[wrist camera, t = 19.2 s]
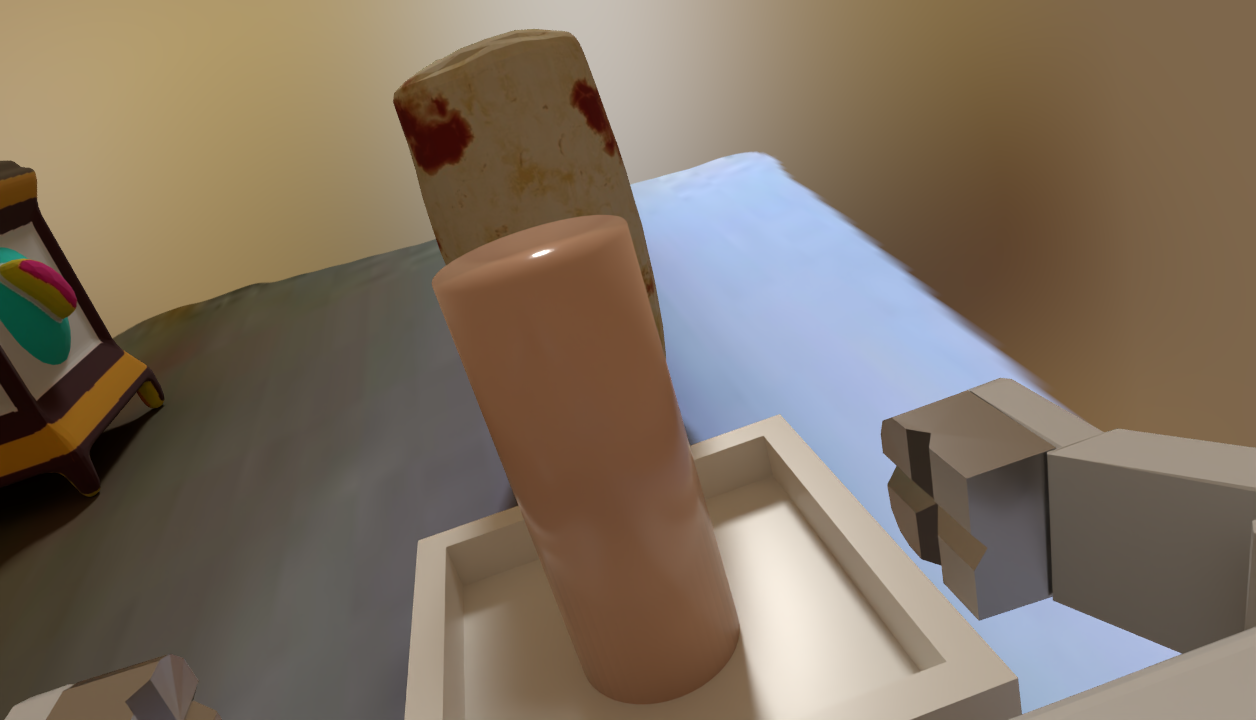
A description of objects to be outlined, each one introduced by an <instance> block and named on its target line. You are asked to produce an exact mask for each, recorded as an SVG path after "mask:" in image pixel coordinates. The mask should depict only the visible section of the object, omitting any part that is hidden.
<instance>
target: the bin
mask: <svg viewBox="0 0 1256 720" xmlns="http://www.w3.org/2000/svg"><path fill="white" fill-rule="evenodd" d="M690 448H691V451H692V455H693V458H694V462H695V466H696V469H697V473H698V476H699V480H700V483H701V487H702V490H703V494H704V497H705V501H706V505H707V508H708V512H709V515H710V519H711V522H712V526H713V529H714V533H715V537H716V540H717V544H718V547H719V551H720V554H721V558H722V561H723V565H724V569H725V572H726V576H727V579H728V583H729V586H730V590H731V593H732V597H733V600H734V604H735V608H736V611H737V615H738V619H739V624H740V633H739V639H738V643H737V646H736V649H735V651H734V653H733V655H732V656H731V658H730V660H729V661H728V662H727V664H726V665H725V666H724V667H723V669H722V670H721V671H720V672H719V673H718V674H717V675H716V676H715V677H713V678H712V679H711V680H710V681H709V682H707V683H706V684H704V685H703V686H701V687H700V688H698V689H696V690H695V691H693V692H691V693H689V694H686V695H684V696H682V697H679V698H676V699H673V700H670V701H666V702H661V703H655V704H629V703H623V702H619V701H616V700H613V699H611V698H608V697H606V696H604V695H603V694H601V693H600V692H598V691H597V690H596V689H595V688H594V687H593V686H592V685H591V684H590V682H589V681H588V680H587V678H586V676H585V674H584V672H583V669H582V666H581V664H580V661H579V659H578V656H577V654H576V651H575V649H574V646H573V643H572V641H571V638H570V636H569V633H568V631H567V628H566V626H565V623H564V621H563V618H562V615H561V613H560V610H559V608H558V605H557V603H556V600H555V598H554V595H553V593H552V590H551V587H550V585H549V582H548V580H547V577H546V575H545V572H544V570H543V567H542V564H541V562H540V559H539V557H538V554H537V552H536V549H535V547H534V544H533V542H532V539H531V536H530V534H529V531H528V529H527V526H526V524H525V521H524V519H523V516H522V513H521V511H520V508H519V506H516V507H513V508H511V509H508V510H505V511H502V512H499V513H496V514H493V515H491V516H488V517H485V518H482V519H479V520H476V521H473V522H471V523H468V524H465V525H462V526H459V527H456V528H453V529H451V530H448V531H445V532H442V533H439V534H436V535H433V536H431V537H428V538H425V539H422V540H419V541H418V549H417V562H416V575H415V588H414V601H413V614H412V628H411V641H410V654H409V667H408V680H407V693H406V706H405V720H1009V719H1012V718H1014V717H1017V716H1020V715H1022V710H1021V701H1020V692H1019V682H1018V677H1017V676H1016V675H1015V674H1014V673H1013V672H1012V671H1011V670H1010V669H1009V667H1008V666H1007V665H1006V664H1005V663H1004V662H1003V661H1002V660H1001V659H1000V658H999V656H998V655H997V654H996V653H995V652H994V651H993V650H992V649H991V648H990V646H989V645H988V644H987V643H986V642H985V641H984V640H983V639H982V638H981V636H980V635H979V634H978V633H977V632H976V631H975V630H974V629H973V628H972V627H971V625H970V624H969V623H968V622H967V621H966V620H965V619H964V618H963V617H962V615H961V614H960V613H959V612H958V611H957V610H956V609H955V608H954V607H953V605H952V604H951V603H950V602H949V601H948V600H947V599H946V598H945V597H944V595H943V594H942V593H941V592H940V591H939V590H938V589H937V588H936V587H935V586H934V584H933V583H932V582H931V581H930V580H929V579H928V578H927V577H926V576H925V574H924V573H923V572H922V571H921V570H920V569H919V568H918V567H917V566H916V564H915V563H914V562H913V561H912V560H911V559H910V558H909V557H908V556H907V555H906V553H905V552H904V551H903V550H902V549H901V548H900V547H899V546H898V545H897V543H896V542H895V541H894V540H893V539H892V538H891V537H890V536H889V535H888V533H887V532H886V531H885V530H884V529H883V528H882V527H881V526H880V525H879V524H878V522H877V521H876V520H875V519H874V518H873V517H872V516H871V515H870V514H869V512H868V511H867V510H866V509H865V508H864V507H863V506H862V505H861V504H860V502H859V501H858V500H857V499H856V498H855V497H854V496H853V495H852V494H851V493H850V491H849V490H848V489H847V488H846V487H845V486H844V485H843V484H842V483H841V481H840V480H839V479H838V478H837V477H836V476H835V475H834V474H833V473H832V471H831V470H830V469H829V468H828V467H827V466H826V465H825V464H824V463H823V462H822V460H821V459H820V458H819V457H818V456H817V455H816V454H815V453H814V452H813V450H812V449H811V448H810V447H809V446H808V445H807V444H806V443H805V442H804V440H803V439H802V438H801V437H800V436H799V435H798V434H797V433H796V432H795V430H794V429H793V428H792V427H791V426H790V425H789V424H788V423H787V422H786V421H785V419H784V418H783V417H782V416H781V415H780V414H779V415H776V416H774V417H771V418H768V419H765V420H762V421H759V422H756V423H754V424H751V425H748V426H745V427H742V428H739V429H736V430H734V431H731V432H728V433H725V434H722V435H719V436H716V437H714V438H711V439H708V440H705V441H702V442H699V443H696V444H694V445H691V446H690Z"/></svg>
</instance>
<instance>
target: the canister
mask: <svg viewBox="0 0 1256 720" xmlns="http://www.w3.org/2000/svg"><path fill="white" fill-rule="evenodd" d="M432 287H433V289H434V292H435V294H436V297H437V299H438V302H439V304H440V307H441V310H442V312H443V315H444V317H445V320H446V322H447V325H448V327H449V330H450V332H451V335H452V338H453V340H454V343H455V345H456V348H457V350H458V353H459V355H460V358H461V361H462V363H463V366H464V368H465V371H466V373H467V376H468V378H469V381H470V383H471V386H472V389H473V391H474V394H475V396H476V399H477V401H478V404H479V406H480V409H481V411H482V414H483V417H484V419H485V422H486V424H487V427H488V429H489V432H490V434H491V437H492V440H493V442H494V445H495V447H496V450H497V452H498V455H499V457H500V460H501V462H502V465H503V468H504V470H505V473H506V475H507V478H508V480H509V483H510V485H511V488H512V491H513V493H514V496H515V498H516V501H517V503H518V506H519V508H520V511H521V513H522V516H523V519H524V521H525V524H526V526H527V529H528V531H529V534H530V536H531V539H532V542H533V544H534V547H535V549H536V552H537V554H538V557H539V559H540V562H541V564H542V567H543V570H544V572H545V575H546V577H547V580H548V582H549V585H550V587H551V590H552V593H553V595H554V598H555V600H556V603H557V605H558V608H559V610H560V613H561V615H562V618H563V621H564V623H565V626H566V628H567V631H568V633H569V636H570V638H571V641H572V643H573V646H574V649H575V651H576V654H577V656H578V659H579V661H580V664H581V666H582V669H583V672H584V674H585V676H586V678H587V680H588V681H589V682H590V684H591V685H592V686H593V687H594V688H595V689H596V690H597V691H598V692H600V693H601V694H603V695H604V696H606V697H608V698H611V699H613V700H616V701H619V702H623V703H629V704H655V703H661V702H666V701H670V700H673V699H676V698H679V697H682V696H684V695H686V694H689V693H691V692H693V691H695V690H696V689H698V688H700V687H701V686H703V685H704V684H706V683H707V682H709V681H710V680H711V679H712V678H713V677H715V676H716V675H717V674H718V673H719V672H720V671H721V670H722V669H723V667H724V666H725V665H726V664H727V662H728V661H729V660H730V658H731V656H732V655H733V653H734V651H735V649H736V646H737V643H738V639H739V633H740V624H739V619H738V615H737V611H736V608H735V604H734V600H733V597H732V593H731V590H730V586H729V583H728V579H727V576H726V572H725V569H724V565H723V561H722V558H721V554H720V551H719V547H718V544H717V540H716V537H715V533H714V529H713V526H712V522H711V519H710V515H709V512H708V508H707V505H706V501H705V497H704V494H703V490H702V487H701V483H700V480H699V476H698V473H697V469H696V466H695V462H694V458H693V455H692V451H691V448H690V444H689V441H688V437H687V434H686V430H685V426H684V423H683V419H682V416H681V412H680V409H679V405H678V402H677V398H676V395H675V391H674V387H673V384H672V380H671V377H670V373H669V370H668V366H667V363H666V359H665V355H664V352H663V348H662V345H661V341H660V338H659V334H658V331H657V327H656V324H655V320H654V316H653V313H652V309H651V306H650V302H649V299H648V295H647V292H646V288H645V284H644V281H643V277H642V274H641V270H640V267H639V263H638V260H637V256H636V253H635V249H634V245H633V242H632V238H631V235H630V231H629V228H628V224H627V222H626V220H625V219H623V218H622V217H619V216H614V215H590V216H582V217H575V218H569V219H564V220H559V221H555V222H551V223H547V224H543V225H539V226H536V227H532V228H529V229H526V230H522V231H519V232H516V233H513V234H510V235H508V236H505V237H502V238H500V239H497V240H495V241H492V242H490V243H487V244H485V245H483V246H481V247H478V248H476V249H474V250H472V251H470V252H468V253H466V254H464V255H462V256H461V257H459V258H457V259H456V260H454V261H452V262H451V263H449V264H448V265H446V266H445V267H444V268H443V269H441V270H440V271H439V272H438V273H437V274H436V275H435V277H434V278H433V280H432Z"/></svg>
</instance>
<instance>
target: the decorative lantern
mask: <svg viewBox="0 0 1256 720" xmlns="http://www.w3.org/2000/svg"><path fill="white" fill-rule="evenodd" d="M136 392H137V394H138V395H139V397H140V398H141V400H142V401H143V402H144V403H145V404H146V405H147V406H148V407H150V408H158V407H160V406H161V405H162V404H163V402H164V394H163V391H162V388H161V386H160V384H159V382H158V380H157V379H156V377H155V375H154V373H153V372H152V370H151V369H150V368H149V367H147V366H146V365H145V364H143V363H142V362H140V361H139V360H137V359H136V358H134V357H133V356H131V355H130V354H128V353H127V352H125V351H124V350H122V349H121V348H120V347H119V346H118V345H117V344H116V343H115V341H114V340H113V339H112V337H111V335H110V334H109V332H108V330H107V328H106V327H105V325H104V323H103V321H102V320H101V318H100V316H99V314H98V313H97V311H96V309H95V308H94V306H93V304H92V302H91V301H90V299H89V297H88V295H87V294H86V292H85V290H84V288H83V286H82V285H81V283H80V281H79V280H78V278H77V276H76V274H75V273H74V271H73V269H72V267H71V265H70V264H69V262H68V260H67V259H66V257H65V255H64V253H63V251H62V250H61V248H60V246H59V245H58V243H57V241H56V239H55V238H54V236H53V234H52V232H51V231H50V229H49V227H48V225H47V224H46V222H45V220H44V218H43V217H42V215H41V212H40V210H39V207H38V202H37V179H36V174H35V172H34V170H33V169H31V168H25V167H20V166H19V165H18V164H16V163H15V162H13V161H0V488H2V487H5V486H8V485H11V484H13V483H16V482H19V481H22V480H25V479H28V478H31V477H34V476H37V475H39V474H43V473H53V472H56V473H60V474H61V475H63V476H64V477H66V478H67V479H68V480H69V481H70V482H71V483H72V484H73V485H74V486H75V487H76V488H77V489H78V491H79V492H80V493H82V494H83V495H85V496H89V497H91V496H94V495H96V494H97V493H98V491H99V490H100V480H99V477H98V475H97V473H96V470H95V468H94V466H93V463H92V461H91V458H90V449H91V447H92V445H93V443H94V442H95V441H96V440H97V439H98V437H99V436H100V435H101V434H102V433H103V432H104V430H105V429H106V428H107V427H108V426H109V424H110V423H111V422H112V421H113V420H114V418H115V417H116V416H117V415H118V414H119V412H120V411H121V410H122V409H123V408H124V406H125V405H126V404H127V403H128V402H129V400H130V399H131V398H132V397H133V396H134V394H135V393H136Z"/></svg>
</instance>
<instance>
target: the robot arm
mask: <svg viewBox="0 0 1256 720" xmlns="http://www.w3.org/2000/svg"><path fill="white" fill-rule="evenodd" d="M881 440H882V448H883V453H884V454H885V455H886V456H887V457H888V458H889V459H890V460H891V461H892V462H893V463H894V464H896V465H897V466H896V468H895V470H894V473H893V475H892V477H891V479H890V481H889V483H888V491H889V497H890V503H891V509H892V511H893V514H894V516H895V519H896V522H897V524H898V527H899V529H900V531H901V533H902V535H903V536H904V538H905V539H906V541H907V542H908V544H909V546H910V547H911V548H912V549H913V550H914V551H915V552H916V554H917V555H918V556H919V557H920V558H921V559H923V560H926V561H929V562H932V563H935V564H939V565H941V566H942V574H943V582H944V584H945V585H946V586H947V587H948V588H949V589H950V590H951V591H952V592H953V593H954V595H955V596H956V597H957V598H958V599H959V600H960V601H961V602H962V603H963V604H964V605H965V606H966V607H967V608H968V609H969V610H970V611H971V613H972V614H973V615H974V616H975V617H976V618H977V619H978V620H979V621H980V620H983V619H986V618H989V617H992V616H995V615H998V614H1001V613H1004V612H1007V611H1010V610H1013V609H1016V608H1019V607H1022V606H1025V605H1028V604H1032V603H1035V602H1038V601H1041V600H1044V599H1047V598H1050V597H1053V601H1056V602H1058V603H1061V604H1063V605H1066V606H1068V607H1070V608H1073V609H1075V610H1078V611H1080V612H1083V613H1085V614H1087V615H1090V616H1092V617H1095V618H1097V619H1100V620H1102V621H1104V622H1107V623H1109V624H1112V625H1114V626H1117V627H1119V628H1121V629H1124V630H1126V631H1129V632H1131V633H1134V634H1136V635H1138V636H1141V637H1143V638H1146V639H1148V640H1151V641H1153V642H1155V643H1158V644H1160V645H1163V646H1165V647H1168V648H1170V649H1172V650H1175V651H1177V652H1180V653H1182V654H1181V655H1178V656H1176V657H1173V658H1171V659H1168V660H1165V661H1163V662H1160V663H1157V664H1155V665H1152V666H1149V667H1147V668H1144V669H1142V670H1139V671H1136V672H1134V673H1131V674H1128V675H1126V676H1123V677H1121V678H1118V679H1115V680H1113V681H1110V682H1107V683H1105V684H1102V685H1099V686H1097V687H1094V688H1092V689H1089V690H1086V691H1084V692H1081V693H1078V694H1076V695H1073V696H1070V697H1068V698H1065V699H1063V700H1060V701H1057V702H1055V703H1052V704H1049V705H1047V706H1044V707H1041V708H1038V709H1036V710H1033V711H1030V712H1028V713H1025V714H1022V715H1020V716H1017V717H1014V718H1012V719H1009V720H1256V448H1251V447H1245V446H1238V445H1230V444H1223V443H1216V442H1209V441H1202V440H1195V439H1188V438H1181V437H1174V436H1166V435H1159V434H1152V433H1145V432H1138V431H1131V430H1123V429H1115V430H1112V431H1108V432H1106V433H1104V432H1102V431H1100V430H1099V429H1097V428H1095V427H1093V426H1092V425H1090V424H1088V423H1087V422H1085V421H1083V420H1081V419H1080V418H1078V417H1076V416H1074V415H1073V414H1071V413H1069V412H1068V411H1066V410H1064V409H1062V408H1061V407H1059V406H1057V405H1055V404H1054V403H1052V402H1050V401H1049V400H1047V399H1045V398H1043V397H1042V396H1040V395H1038V394H1036V393H1035V392H1033V391H1031V390H1030V389H1028V388H1026V387H1024V386H1023V385H1021V384H1019V383H1017V382H1016V381H1014V380H1012V379H1005V378H999V379H996V380H993V381H990V382H988V383H985V384H982V385H980V386H977V387H974V388H972V389H969V390H966V391H964V392H961V393H959V394H956V395H954V396H951V397H948V398H945V399H942V400H940V401H937V402H934V403H931V404H928V405H926V406H923V407H920V408H917V409H914V410H912V411H909V412H906V413H903V414H900V415H898V416H895V417H892V418H889V419H886V420H884V421H883V422H882V429H881ZM198 682H199V681H198V679H197V678H196V676H195V675H194V673H193V672H192V670H191V669H190V667H189V666H188V664H187V663H186V661H185V660H184V658H181V657H178V656H175V655H172V654H168V655H165V656H161V657H158V658H155V659H152V660H148V661H145V662H142V663H139V664H135V665H132V666H129V667H126V668H122V669H119V670H116V671H113V672H109V673H106V674H103V675H100V676H96V677H93V678H90V679H87V680H83V681H80V682H77V683H76V684H72V685H66V686H63V687H60V688H57V689H55V690H52V691H49V692H46V693H43V694H40V695H37V696H34V697H31V698H29V699H27V700H25V701H23V702H21V703H19V704H17V705H16V706H14V707H13V708H12V710H11V711H10V713H9V714H8V716H7V717H6V719H5V720H222V719H221V717H220V716H219V714H218V712H217V711H215V710H213V709H211V708H208V707H206V706H204V705H202V704H199V703H197V702H195V701H193V700H194V697H195V693H196V689H197V685H198Z"/></svg>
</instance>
